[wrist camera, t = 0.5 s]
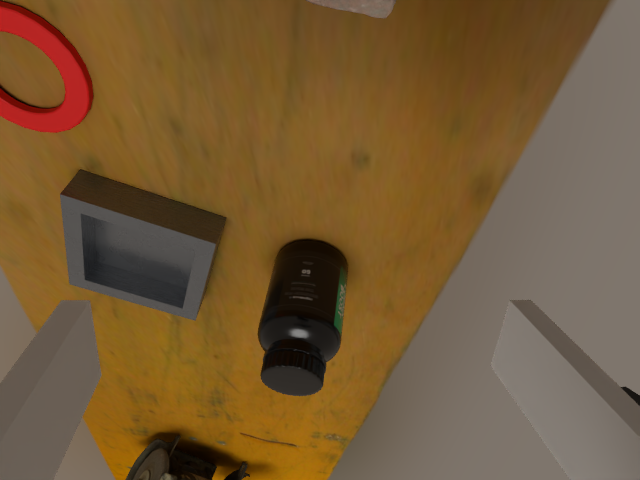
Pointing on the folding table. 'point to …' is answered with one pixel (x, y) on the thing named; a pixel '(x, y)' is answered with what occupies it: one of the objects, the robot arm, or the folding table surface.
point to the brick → (360, 6)
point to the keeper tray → (138, 244)
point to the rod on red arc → (68, 64)
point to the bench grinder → (175, 464)
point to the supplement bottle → (302, 317)
